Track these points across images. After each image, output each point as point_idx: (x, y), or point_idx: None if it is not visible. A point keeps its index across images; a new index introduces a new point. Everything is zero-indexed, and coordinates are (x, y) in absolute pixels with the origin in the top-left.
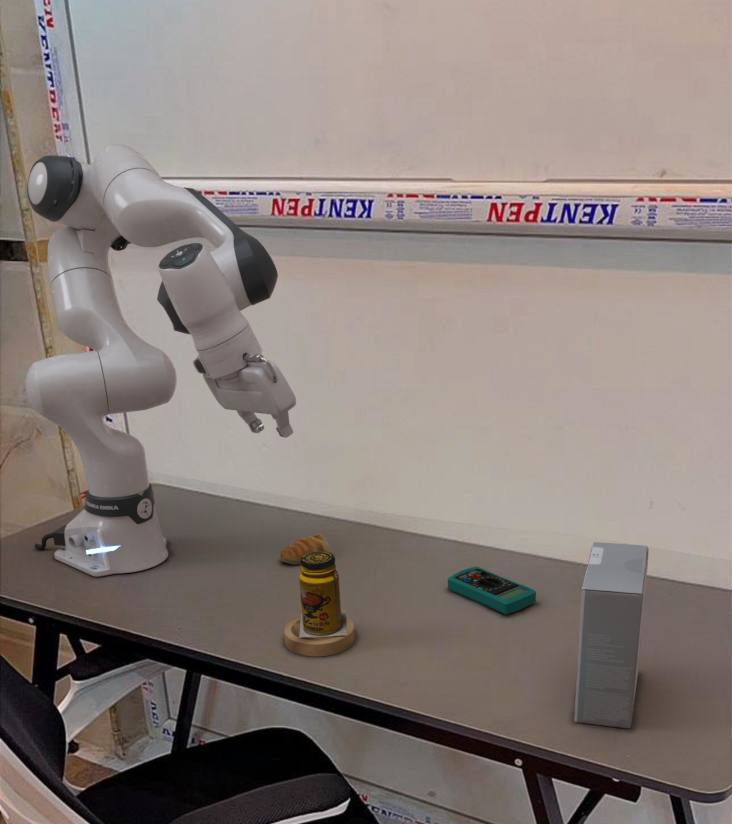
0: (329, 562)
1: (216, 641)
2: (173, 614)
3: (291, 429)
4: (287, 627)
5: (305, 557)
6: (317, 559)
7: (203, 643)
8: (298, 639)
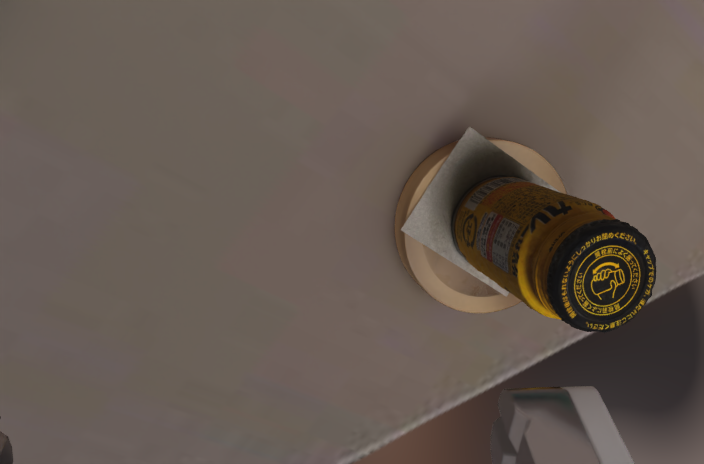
0: (654, 263)
1: (324, 420)
2: (112, 459)
3: (601, 410)
4: (438, 291)
5: (581, 311)
6: (615, 285)
7: (314, 447)
8: (506, 298)
